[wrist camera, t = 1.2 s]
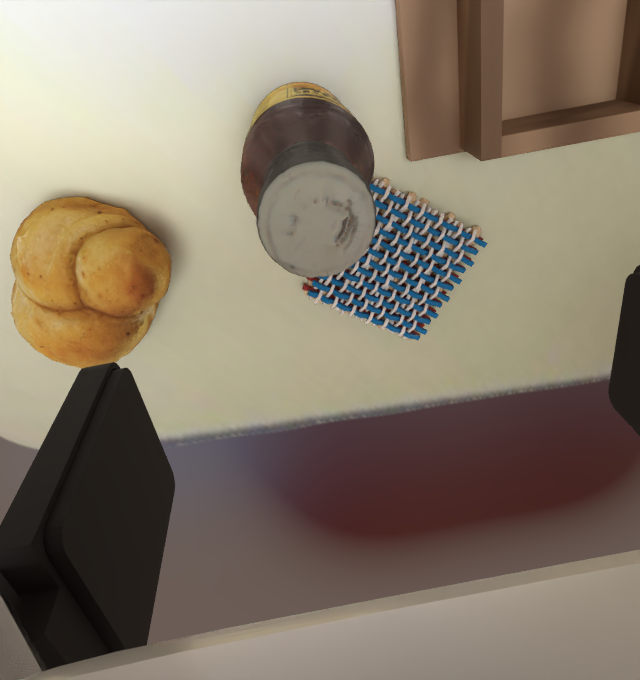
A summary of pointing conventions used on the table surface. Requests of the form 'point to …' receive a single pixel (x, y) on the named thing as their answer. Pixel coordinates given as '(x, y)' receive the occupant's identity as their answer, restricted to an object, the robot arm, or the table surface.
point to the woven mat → (400, 265)
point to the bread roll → (86, 281)
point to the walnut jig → (516, 74)
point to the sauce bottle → (309, 181)
